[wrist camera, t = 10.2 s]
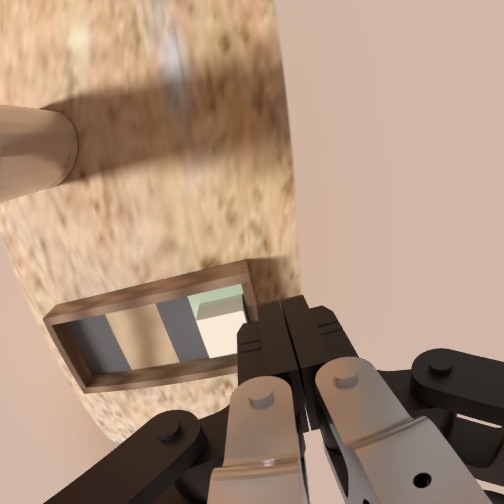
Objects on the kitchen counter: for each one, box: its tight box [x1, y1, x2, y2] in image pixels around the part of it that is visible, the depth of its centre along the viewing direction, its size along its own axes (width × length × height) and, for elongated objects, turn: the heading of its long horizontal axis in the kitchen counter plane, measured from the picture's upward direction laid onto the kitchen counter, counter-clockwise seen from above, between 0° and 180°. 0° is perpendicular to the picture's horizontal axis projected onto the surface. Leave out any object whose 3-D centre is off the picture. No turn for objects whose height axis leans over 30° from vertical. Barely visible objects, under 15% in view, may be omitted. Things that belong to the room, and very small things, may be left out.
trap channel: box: [43, 259, 258, 394], centre depth 37 cm, size 26×12×4 cm, turn 104°
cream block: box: [196, 294, 250, 358], centre depth 36 cm, size 5×5×4 cm
